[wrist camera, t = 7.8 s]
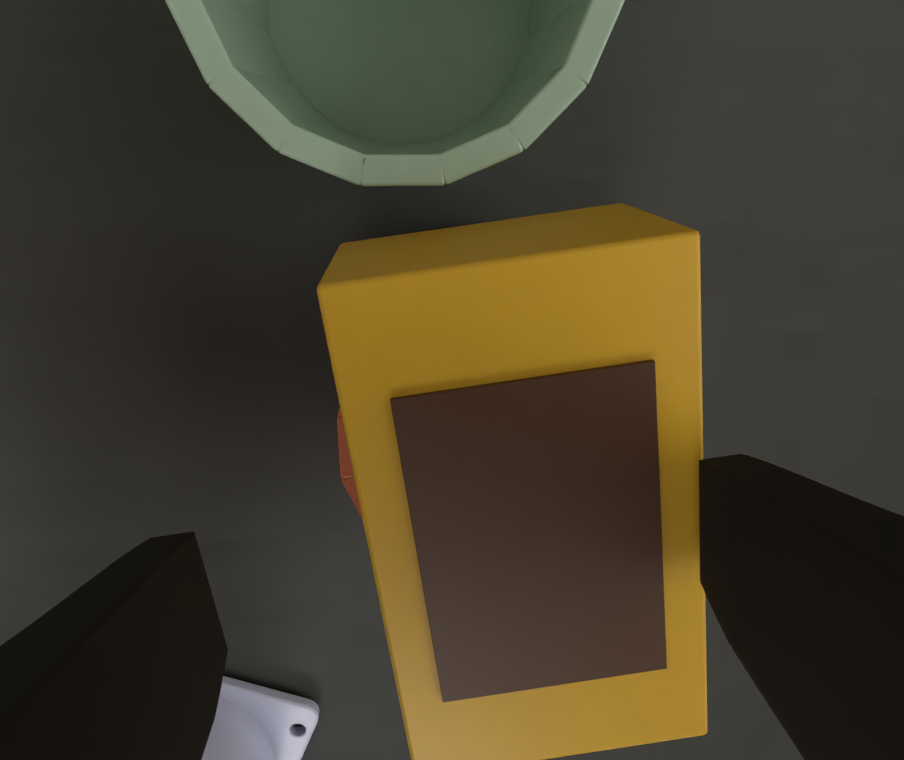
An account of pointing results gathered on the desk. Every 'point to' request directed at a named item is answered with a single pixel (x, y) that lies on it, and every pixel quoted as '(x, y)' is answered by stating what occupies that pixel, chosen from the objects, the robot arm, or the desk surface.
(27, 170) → the desk surface
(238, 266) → the desk surface
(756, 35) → the desk surface
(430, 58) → the celadon cup
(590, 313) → the coffee packet
